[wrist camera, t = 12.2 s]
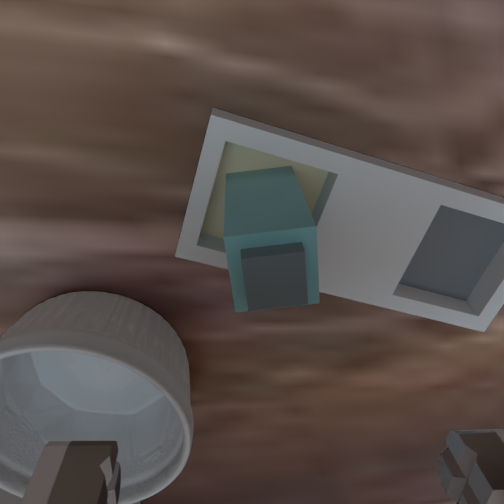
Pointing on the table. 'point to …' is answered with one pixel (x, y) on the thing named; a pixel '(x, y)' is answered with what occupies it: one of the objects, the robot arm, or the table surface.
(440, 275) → the socket panel
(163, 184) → the table surface
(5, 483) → the ramekin
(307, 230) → the teal plug
